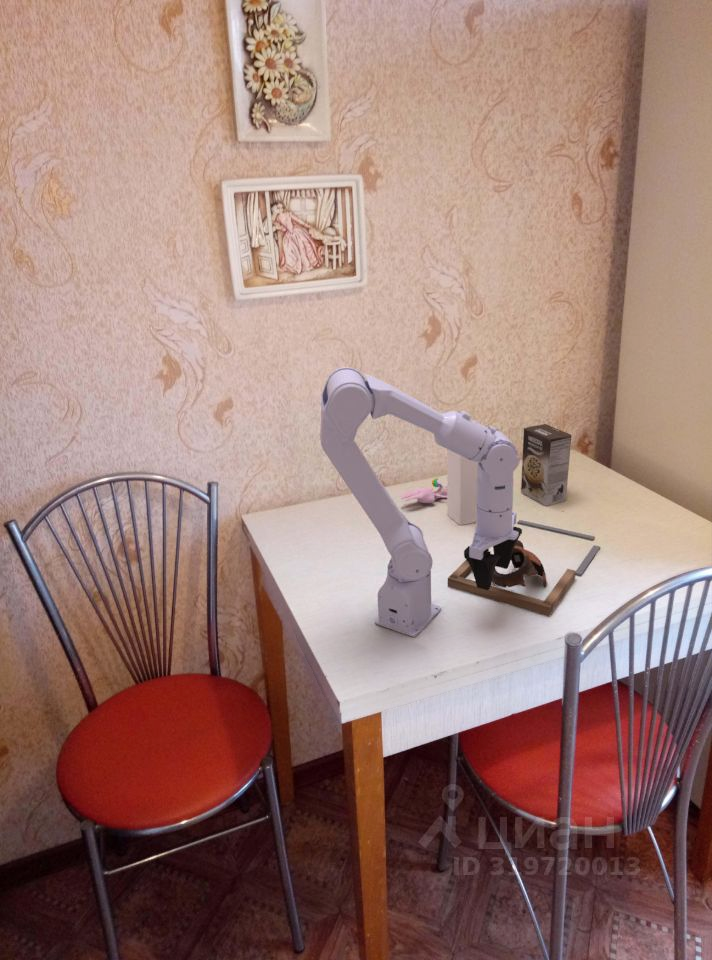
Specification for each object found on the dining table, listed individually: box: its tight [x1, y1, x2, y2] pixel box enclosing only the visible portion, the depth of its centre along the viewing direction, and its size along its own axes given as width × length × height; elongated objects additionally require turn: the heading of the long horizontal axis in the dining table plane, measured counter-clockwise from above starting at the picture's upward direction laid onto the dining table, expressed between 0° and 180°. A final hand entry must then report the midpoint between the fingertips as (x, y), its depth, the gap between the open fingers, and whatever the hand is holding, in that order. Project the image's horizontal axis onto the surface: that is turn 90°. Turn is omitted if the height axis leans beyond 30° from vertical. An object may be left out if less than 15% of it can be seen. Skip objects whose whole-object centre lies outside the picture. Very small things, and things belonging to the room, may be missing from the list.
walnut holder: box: [447, 559, 576, 617], centre depth 124 cm, size 14×19×2 cm
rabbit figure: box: [400, 478, 447, 504], centre depth 157 cm, size 6×6×15 cm
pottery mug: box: [492, 539, 548, 588], centre depth 124 cm, size 12×10×8 cm
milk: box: [446, 420, 480, 526], centre depth 145 cm, size 6×6×22 cm
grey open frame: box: [516, 519, 601, 577], centre depth 136 cm, size 16×20×1 cm
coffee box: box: [520, 423, 572, 507], centre depth 154 cm, size 9×6×16 cm
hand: (492, 577), depth 115 cm, fingers open, 7 cm apart
